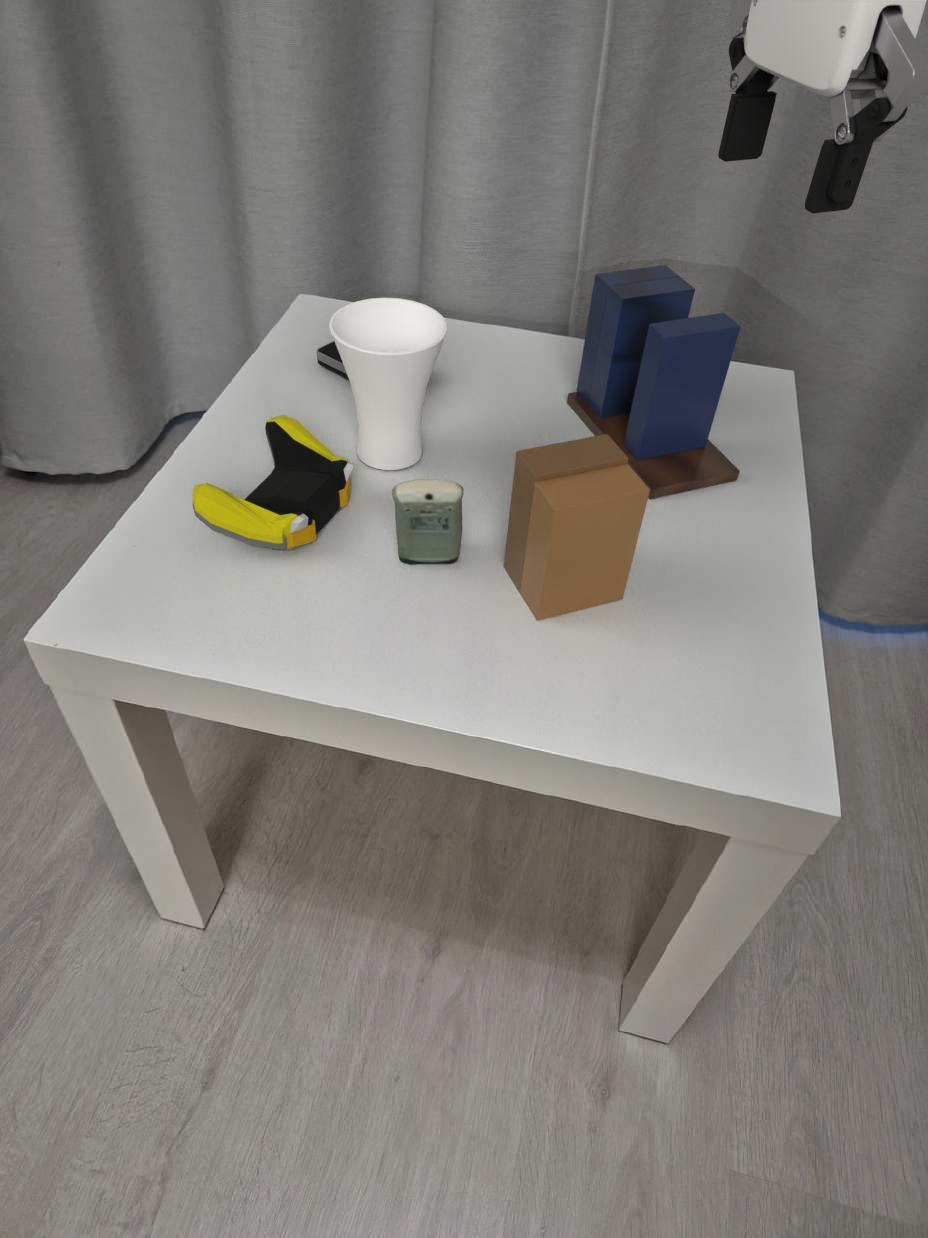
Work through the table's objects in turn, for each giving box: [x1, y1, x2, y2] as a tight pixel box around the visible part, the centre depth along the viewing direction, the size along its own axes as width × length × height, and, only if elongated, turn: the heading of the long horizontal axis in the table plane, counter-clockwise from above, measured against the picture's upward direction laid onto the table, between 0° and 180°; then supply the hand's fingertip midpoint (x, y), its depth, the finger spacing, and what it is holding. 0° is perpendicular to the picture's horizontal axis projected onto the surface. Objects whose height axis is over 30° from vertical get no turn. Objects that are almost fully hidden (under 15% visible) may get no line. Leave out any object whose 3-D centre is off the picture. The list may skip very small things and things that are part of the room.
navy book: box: [624, 312, 741, 460], centre depth 84 cm, size 8×3×13 cm, turn 112°
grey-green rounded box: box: [391, 478, 465, 566], centre depth 74 cm, size 6×5×8 cm
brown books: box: [503, 434, 650, 622], centre depth 71 cm, size 8×7×12 cm
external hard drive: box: [316, 340, 349, 381], centre depth 97 cm, size 7×11×2 cm, turn 51°
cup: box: [328, 297, 448, 471], centre depth 82 cm, size 10×10×14 cm
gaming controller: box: [192, 414, 355, 551], centre depth 78 cm, size 15×6×10 cm
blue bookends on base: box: [566, 264, 741, 500], centre depth 86 cm, size 10×18×14 cm, turn 22°
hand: (780, 182), depth 57 cm, fingers open, 9 cm apart
